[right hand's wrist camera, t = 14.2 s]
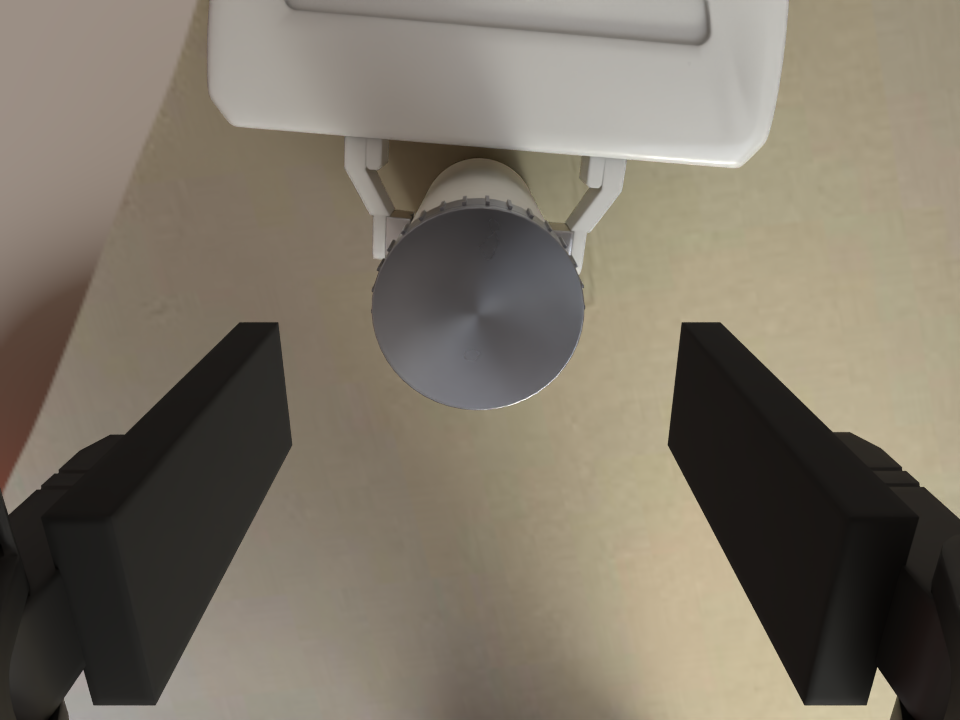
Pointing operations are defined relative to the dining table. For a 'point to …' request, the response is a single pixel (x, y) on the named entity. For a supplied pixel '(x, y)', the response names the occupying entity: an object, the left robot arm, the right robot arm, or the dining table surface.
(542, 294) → the lid
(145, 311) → the dining table surface
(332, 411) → the dining table surface
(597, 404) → the dining table surface
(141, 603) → the right robot arm
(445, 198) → the jar
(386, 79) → the left robot arm
